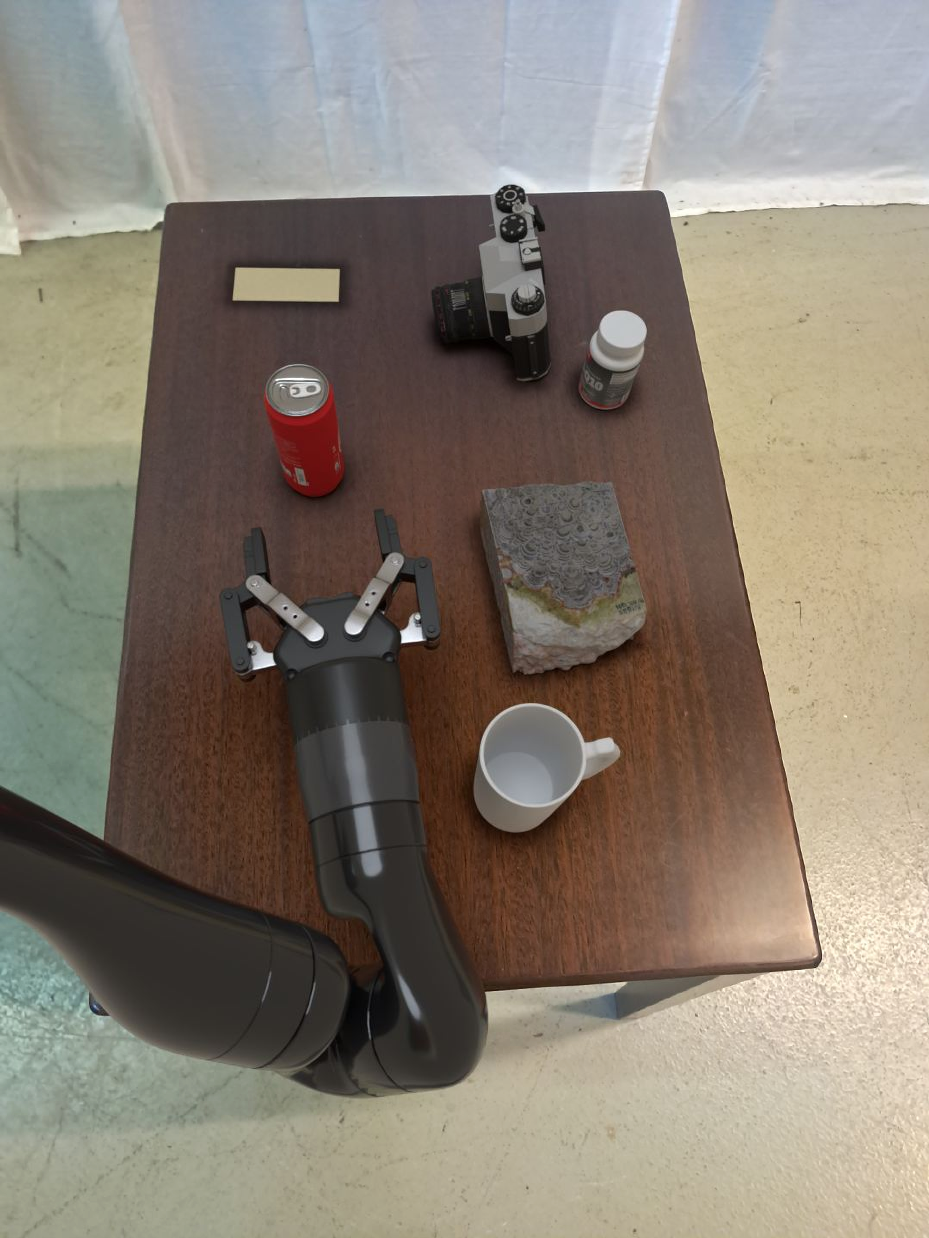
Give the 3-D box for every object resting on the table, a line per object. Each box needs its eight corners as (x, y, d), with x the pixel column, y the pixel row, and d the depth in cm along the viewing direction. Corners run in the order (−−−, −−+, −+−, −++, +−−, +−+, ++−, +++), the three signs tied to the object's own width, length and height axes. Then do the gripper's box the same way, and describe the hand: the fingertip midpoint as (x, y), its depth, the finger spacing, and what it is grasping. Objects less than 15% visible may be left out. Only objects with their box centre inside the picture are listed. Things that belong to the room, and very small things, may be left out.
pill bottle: (569, 377, 81) (585, 314, 73) (615, 364, 82) (635, 300, 74) (590, 417, 79) (608, 357, 72) (637, 403, 80) (660, 342, 72)
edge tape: (232, 301, 82) (232, 300, 82) (235, 268, 84) (235, 267, 84) (338, 302, 83) (338, 301, 83) (339, 270, 84) (339, 269, 84)
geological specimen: (607, 465, 71) (659, 628, 65) (593, 506, 77) (639, 660, 71) (480, 481, 70) (521, 650, 64) (475, 522, 75) (511, 680, 69)
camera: (435, 274, 86) (415, 193, 77) (542, 254, 85) (536, 169, 76) (448, 396, 81) (429, 324, 72) (564, 376, 80) (559, 300, 71)
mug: (478, 843, 64) (490, 816, 53) (462, 755, 67) (470, 711, 56) (609, 820, 65) (647, 788, 54) (588, 734, 68) (621, 687, 57)
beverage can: (282, 454, 76) (258, 365, 65) (341, 446, 77) (327, 357, 66) (288, 505, 74) (265, 422, 63) (349, 496, 75) (336, 414, 64)
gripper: (465, 707, 52) (417, 479, 58) (227, 751, 51) (203, 512, 57) (461, 739, 59) (418, 532, 65) (251, 778, 58) (227, 562, 64)
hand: (318, 523), depth 61 cm, fingers open, 8 cm apart
